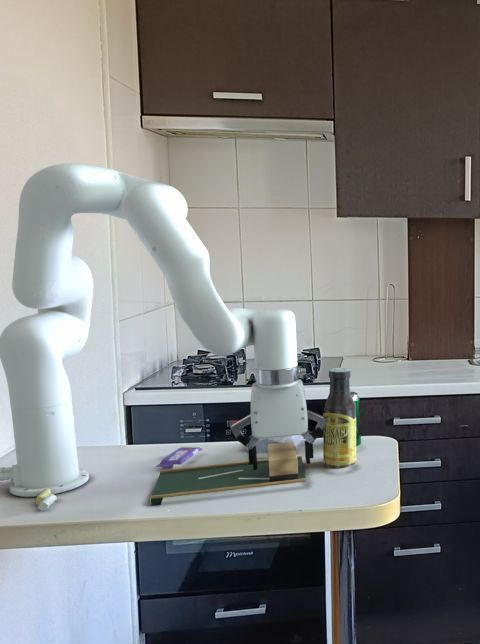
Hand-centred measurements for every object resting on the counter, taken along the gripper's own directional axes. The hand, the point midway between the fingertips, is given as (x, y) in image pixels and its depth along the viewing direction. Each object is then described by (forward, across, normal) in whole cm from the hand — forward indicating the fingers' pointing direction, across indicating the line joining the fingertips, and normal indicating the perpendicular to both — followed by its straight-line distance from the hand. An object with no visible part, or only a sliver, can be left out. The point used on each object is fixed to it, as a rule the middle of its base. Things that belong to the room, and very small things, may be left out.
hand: (281, 464), depth 141 cm
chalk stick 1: (+2, +40, -2) cm, 40 cm away
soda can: (+3, -14, -13) cm, 19 cm away
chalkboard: (+2, +9, 0) cm, 9 cm away
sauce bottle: (+3, -11, -1) cm, 11 cm away
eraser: (+1, 0, 0) cm, 1 cm away
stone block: (+3, +1, -18) cm, 18 cm away
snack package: (+3, +19, -16) cm, 25 cm away
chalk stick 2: (+2, +39, +1) cm, 39 cm away
